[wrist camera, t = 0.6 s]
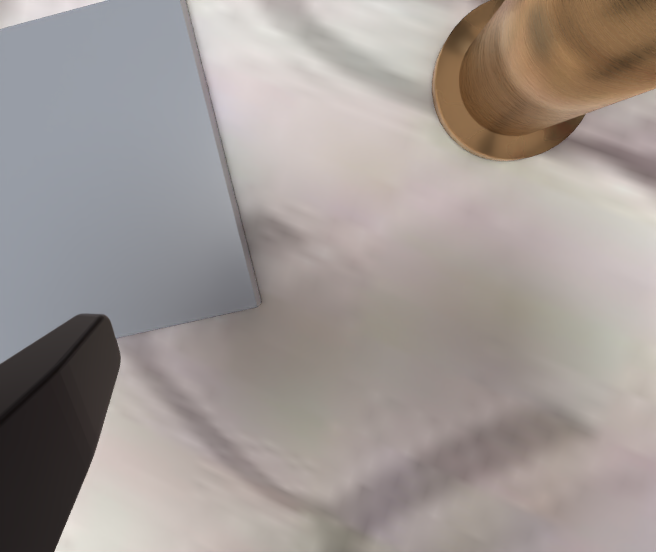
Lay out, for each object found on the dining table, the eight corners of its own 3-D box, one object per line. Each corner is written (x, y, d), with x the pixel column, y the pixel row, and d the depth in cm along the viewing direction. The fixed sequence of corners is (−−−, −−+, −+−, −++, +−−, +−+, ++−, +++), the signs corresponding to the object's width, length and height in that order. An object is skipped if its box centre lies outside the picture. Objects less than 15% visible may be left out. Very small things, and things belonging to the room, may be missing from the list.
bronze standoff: (595, 141, 20) (1018, 43, 7) (448, 175, 21) (608, 139, 8) (570, -13, 20) (990, -416, 7) (418, 26, 20) (541, -285, 7)
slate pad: (261, 301, 22) (257, 307, 21) (-17, 363, 23) (-34, 371, 22) (183, -8, 20) (175, -18, 19) (-112, 71, 21) (-135, 65, 20)
